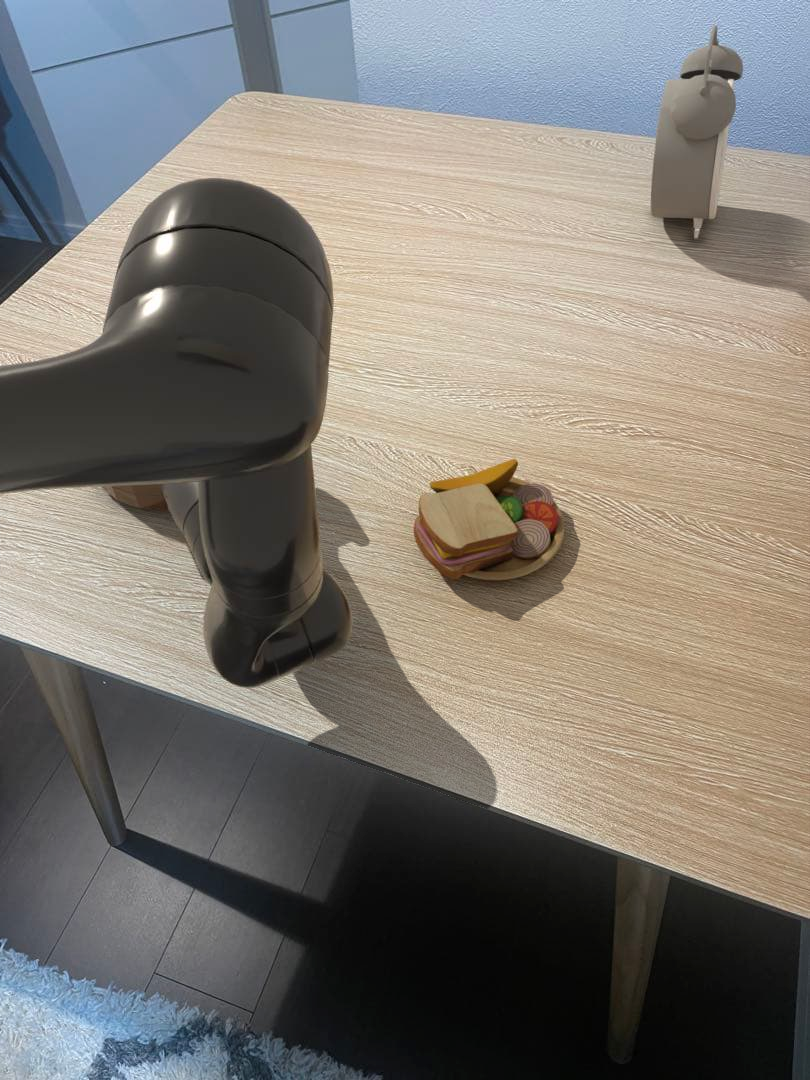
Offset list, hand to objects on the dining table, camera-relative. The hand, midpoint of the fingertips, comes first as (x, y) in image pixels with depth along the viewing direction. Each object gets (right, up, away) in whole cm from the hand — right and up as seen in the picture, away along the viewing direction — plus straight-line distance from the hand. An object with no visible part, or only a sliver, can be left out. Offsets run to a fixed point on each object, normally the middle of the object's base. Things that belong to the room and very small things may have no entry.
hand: (155, 377), depth 86 cm
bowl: (+1, -7, +5) cm, 8 cm away
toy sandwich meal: (+31, -15, -4) cm, 35 cm away
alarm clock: (+58, +26, +30) cm, 70 cm away
